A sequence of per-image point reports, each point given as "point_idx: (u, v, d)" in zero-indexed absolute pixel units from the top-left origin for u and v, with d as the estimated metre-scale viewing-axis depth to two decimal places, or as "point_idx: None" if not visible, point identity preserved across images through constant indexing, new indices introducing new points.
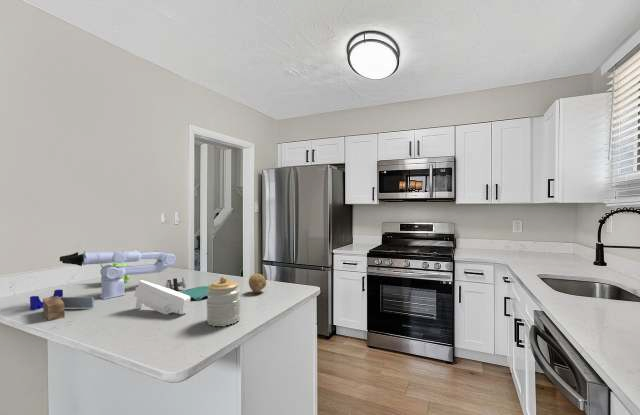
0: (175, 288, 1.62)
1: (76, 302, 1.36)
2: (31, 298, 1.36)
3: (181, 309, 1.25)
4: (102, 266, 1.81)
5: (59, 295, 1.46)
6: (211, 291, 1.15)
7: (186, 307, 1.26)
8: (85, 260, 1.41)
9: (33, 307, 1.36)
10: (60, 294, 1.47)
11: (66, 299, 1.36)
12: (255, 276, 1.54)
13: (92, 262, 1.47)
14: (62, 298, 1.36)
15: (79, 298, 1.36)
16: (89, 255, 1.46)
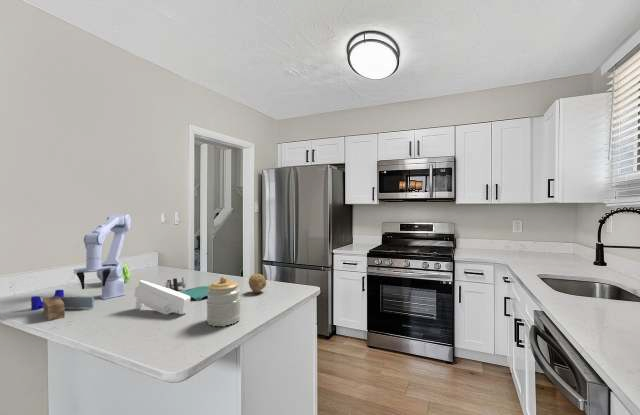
0: (175, 288, 1.63)
1: (76, 302, 1.36)
2: (32, 298, 1.36)
3: (181, 309, 1.25)
4: None
5: (60, 295, 1.46)
6: (211, 291, 1.15)
7: (186, 307, 1.26)
8: None
9: (34, 307, 1.36)
10: (61, 294, 1.47)
11: (66, 299, 1.36)
12: (255, 276, 1.54)
13: None
14: (62, 298, 1.36)
15: (79, 298, 1.36)
16: (100, 265, 1.41)
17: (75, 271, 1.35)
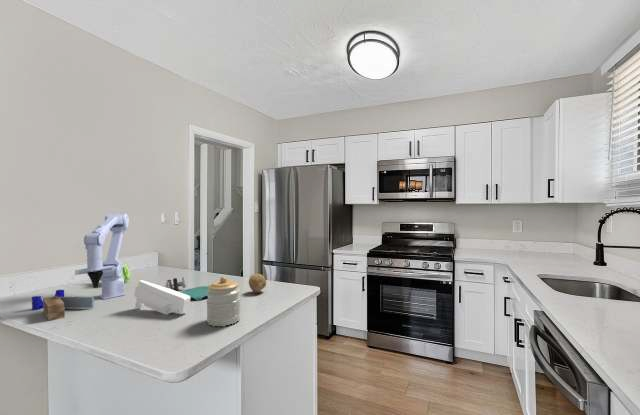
0: (175, 288, 1.63)
1: (76, 302, 1.36)
2: (33, 298, 1.36)
3: (181, 309, 1.25)
4: None
5: (61, 295, 1.46)
6: (211, 291, 1.15)
7: (186, 307, 1.26)
8: None
9: (35, 307, 1.36)
10: (62, 294, 1.46)
11: (66, 299, 1.36)
12: (255, 276, 1.54)
13: None
14: (62, 298, 1.36)
15: (79, 298, 1.36)
16: (101, 265, 1.41)
17: (77, 272, 1.35)
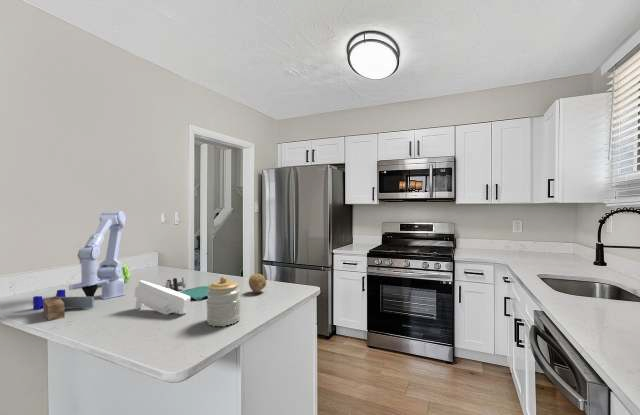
0: (175, 288, 1.63)
1: (76, 302, 1.36)
2: (34, 298, 1.36)
3: (181, 309, 1.25)
4: None
5: (62, 295, 1.46)
6: (211, 291, 1.15)
7: (186, 307, 1.26)
8: None
9: (36, 307, 1.36)
10: (63, 294, 1.46)
11: (66, 299, 1.36)
12: (255, 276, 1.54)
13: None
14: (62, 298, 1.36)
15: (79, 298, 1.36)
16: (96, 280, 1.39)
17: (71, 287, 1.33)
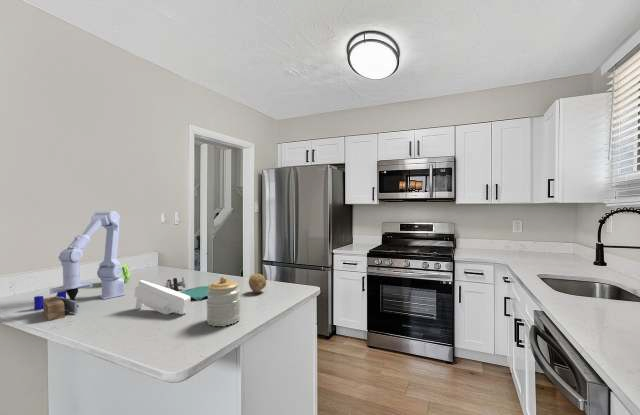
0: (175, 288, 1.63)
1: (67, 305, 1.32)
2: (35, 298, 1.36)
3: (181, 309, 1.25)
4: None
5: (62, 295, 1.46)
6: (211, 291, 1.15)
7: (186, 307, 1.26)
8: None
9: (37, 307, 1.36)
10: (64, 294, 1.46)
11: (62, 300, 1.35)
12: (255, 276, 1.54)
13: None
14: (60, 298, 1.36)
15: (68, 301, 1.32)
16: (78, 282, 1.34)
17: (51, 291, 1.28)
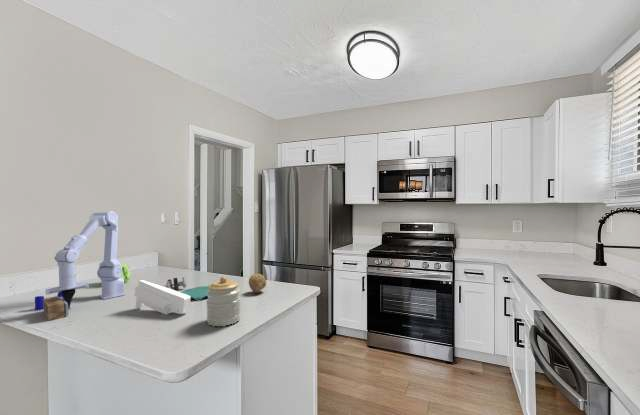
0: (175, 287, 1.64)
1: None
2: (36, 298, 1.36)
3: (181, 309, 1.25)
4: None
5: None
6: (211, 291, 1.15)
7: (186, 307, 1.26)
8: None
9: (38, 307, 1.36)
10: None
11: None
12: (255, 276, 1.54)
13: None
14: (60, 298, 1.36)
15: None
16: (74, 283, 1.33)
17: (47, 292, 1.27)
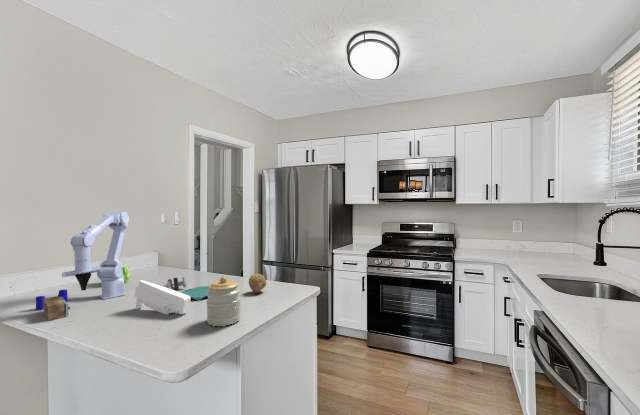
0: (175, 287, 1.64)
1: None
2: (37, 298, 1.36)
3: (181, 309, 1.25)
4: None
5: (64, 295, 1.46)
6: (211, 291, 1.15)
7: (186, 307, 1.26)
8: None
9: (39, 307, 1.36)
10: (65, 294, 1.46)
11: None
12: (255, 276, 1.54)
13: None
14: (60, 298, 1.36)
15: None
16: (89, 267, 1.38)
17: (64, 274, 1.31)
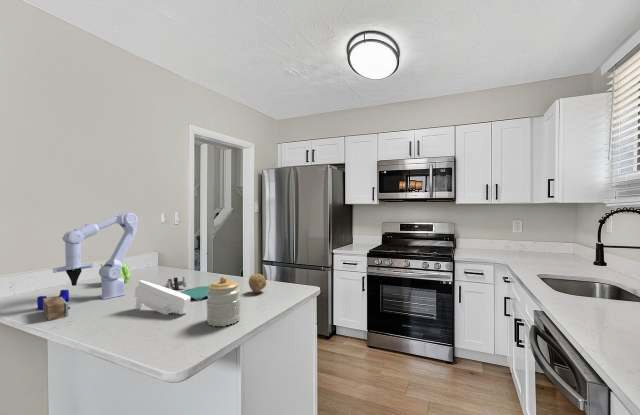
0: (176, 287, 1.64)
1: None
2: (39, 298, 1.36)
3: (181, 310, 1.25)
4: (102, 266, 1.81)
5: (65, 295, 1.46)
6: (211, 291, 1.15)
7: (186, 307, 1.26)
8: None
9: (40, 307, 1.36)
10: (67, 294, 1.46)
11: None
12: (255, 276, 1.54)
13: None
14: (60, 298, 1.36)
15: None
16: (80, 263, 1.42)
17: (54, 270, 1.36)
